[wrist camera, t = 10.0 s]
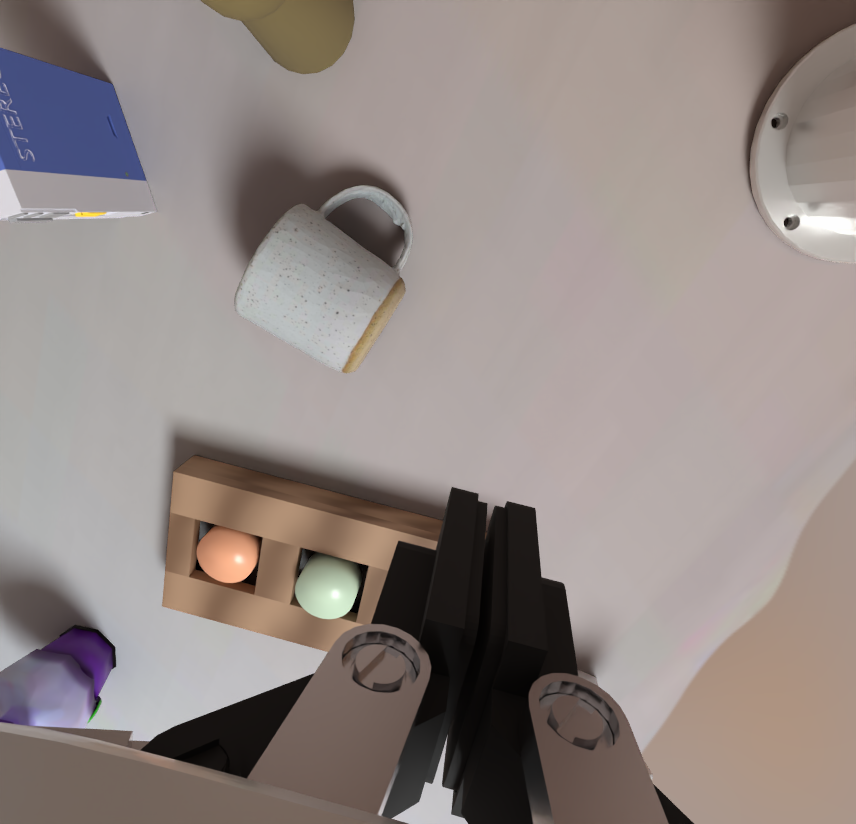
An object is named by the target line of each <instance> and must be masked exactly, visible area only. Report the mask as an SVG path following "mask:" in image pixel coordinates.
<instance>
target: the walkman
mask: <svg viewBox="0 0 856 824" xmlns="http://www.w3.org/2000/svg"><path fill="white" fill-rule="evenodd" d="M153 212H157V209H156V207H155V204H154V201H153V198H152V195H151V192H150V189H149V186H148V183H147V181H146V178H145V176H144V173H143V170H142V167H141V164H140V161H139V158H138V156H137V153H136V150H135V147H134V144H133V141H132V138H131V136H130V133H129V130H128V127H127V124H126V121H125V118H124V116H123V113H122V110H121V107H120V104H119V101H118V98H117V96H116V93H115V90H114V87H113V84H111V83H108V82H105V81H102V80H99V79H95V78H92V77H89V76H86V75H83V74H80V73H77V72H74V71H71V70H68V69H65V68H62V67H58V66H55V65H52V64H49V63H46V62H43V61H40V60H37V59H34V58H31V57H28V56H25V55H22V54H18V53H15V52H12V51H9V50H6V49H3V48H0V220H8V221H9V223H40V222H49V221H53V219H90V218H123V217H126V216H142V215H146V214H150V213H153Z"/></svg>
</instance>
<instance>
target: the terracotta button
mask: <svg viewBox="0 0 856 824" xmlns="http://www.w3.org/2000/svg"><path fill="white" fill-rule="evenodd" d="M262 540H263V537H260V536H256V535H253V534H249V533H245V532H241V531H238V530H234V529H230V528H227V527H223V526H219V525H214V526H213V527H212V528H211V529H210V530H209V532H208V533H207V534H206V535H205V536H204V537H203V538H202V539H201V541H200V542H199V544H198V547H197V558H198V561H199V564H200V566H201V567H202V569H203V570H204V571H205V572H206V573H207V574H208V575H209V576H211V577H212V578H214V579H216V580H218V581H221V582H225V583H236V582H240V581H242V580H244V579H245V578H247V577H248V576H249V574H250V573H251V572H252V570H253V569H254V567H255V566H256V564H257V563H258V562H259V560H260V553H261V547H262Z"/></svg>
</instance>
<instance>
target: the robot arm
mask: <svg viewBox="0 0 856 824" xmlns="http://www.w3.org/2000/svg"><path fill="white" fill-rule="evenodd" d="M772 119H776V121H777V125H776V127H775V128H772V125H771V120H772ZM749 172H750V179H751V187H752V193H753V196H754V199H755V202H756V205H757V207H758V210H759V213H760V214H761V216H762V217H763V219H764V220H765V222H766V224H767V225H768V227H769V228H770V230H771V231H773V232H774V233H775V234H776V235H777V236H778V237H779V238H780V239H781V240H782V241H783V242H784V243H785V244H787V245H788V246H790V247H792V248H793V249H795V250H797V251H798V252H800V253H802V254H805V255H808V256H811V257H814V258H816V259H819V260H826V261H831V262H836V263H856V23H855V24H853V25H851V26H849V27H847V28H845V29H843V30H841V31H839V32H837V33H836V34H834V35H832V36H831V37H829V38H827V39H826V40H824V41H822V42H821V43H819V44H818V45H816V46H815V47H814V48H813V49H812V50H811V51H809V52H808V53H807V54H806V55H805V56H803V57H802V58H801V59H800V60H799V61H798V62H797V63H796V64H795V65H794V66H793V67H792V68H791V69H790V71H789V72H788V73H787V74H786V75H785V76H784V77H783V79H782V80H781V81H780V82H779V84H778V86H777V87H776V89H775V90H774V92H773V93H772V95H771V97H770V98H769V100H768V101H767V103H766V105H765V107H764V110H763V112H762V114H761V117H760V119H759V121H758V124H757V126H756V130H755V134H754V138H753V142H752V146H751V154H750V171H749ZM785 218H788V220H789V223H788V225H787V226H785V227H784V225H783V224H784V220H785ZM486 517H487V503H483V502H479V501H478V494H477V493H473V492H469V491H465V490H461V489H457V488H453V487H452V489H451V492H450V496H449V500H448V504H447V508H446V512H445V515H444V519H443V523H442V527H441V531H440V535H439V539H438V543H437V547H436V550H434V549H430V548H426V547H422V546H418V545H415V544H411V543H407V542H403V541H398V543H397V546H396V549H395V552H394V555H393V558H392V561H391V564H390V567H389V570H388V573H387V576H386V579H385V582H384V585H383V588H382V591H381V594H380V597H379V600H378V603H377V606H376V609H375V612H374V615H373V618H372V622H371V624H366V625H361V626H356V627H354V628H352V629H350V630H348V631H346V632H344V633H343V634H342V635H341V636H340V637H339V638H338V639H337V640H336V641H335V643H334V644H333V646H332V647H331V649H330V650H329V652H328V653H327V655H326V657H325V658H324V660H323V661H322V663H321V664H320V666H319V667H318V669H317V670H316V672H315V673H314V674H311V675H309V676H306V677H303V678H301V679H298V680H296V681H293V682H290V683H288V684H285V685H282V686H280V687H277V688H274V689H272V690H269V691H267V692H264V693H261V694H259V695H256V696H253V697H251V698H248V699H245V700H243V701H240V702H238V703H235V704H232V705H230V706H227V707H224V708H222V709H219V710H216V711H214V712H211V713H209V714H206V715H203V716H201V717H198V718H195V719H193V720H190V721H187V722H185V723H182V724H180V725H177V726H174V727H172V728H171V729H169V730H167V731H165V732H163V733H161V734H159V735H157V736H156V737H155V738H154V739H152V740H151V741H150V742H149V741H132V734H133V731H120V730H101V729H83V728H64V727H46V726H27V725H18V724H11V723H3V722H0V824H408V823H404V822H401V821H397V820H394V819H392V818H393V817H395V816H396V815H398V814H400V813H401V812H403V811H405V810H406V809H408V808H410V807H411V806H413V805H415V804H416V803H418V802H419V800H420V797H421V794H422V790H423V787H424V784H425V782H428V783H431V784H432V783H433V780H434V777H435V774H436V771H437V767H438V764H439V761H440V758H441V754H442V751H443V748H444V744H445V741H446V738H447V745H446V754H445V763H444V771H443V781H442V786H443V787H445V788H449V789H453V790H454V791H453V802H452V812H451V814H452V815H455V816H459V817H463V818H465V820H466V821H467V822H468V824H694V823H693V822H691V821H690V819H689V818H687V816H686V815H684V814H683V813H682V812H681V811H680V810H679V809H678V808H677V807H676V806H675V805H674V804H673V803H672V802H671V801H670V800H669V799H668V798H667V797H666V796H665V795H664V794H663V793H662V792H661V791H660V790H659V789H658V788H657V787H656V786H655V785H654V784H653V783H652V780H651V778H650V775H649V772H648V770H647V767H646V765H645V762H644V760H643V757H642V755H641V752H640V750H639V747H638V745H637V742H636V739H635V737H634V734H633V732H632V729H631V727H630V724H629V722H628V720H627V718H626V716H625V714H624V712H623V711H622V709H621V707H620V706H619V705H618V704H617V703H616V702H615V700H614V699H613V698H612V697H611V696H610V695H609V694H608V693H606V692H605V691H604V690H602V689H601V688H600V687H598V686H597V685H596V684H594V683H592V682H590V681H588V680H586V679H584V678H582V677H578V670H577V664H576V657H575V650H574V643H573V637H572V630H571V623H570V617H569V610H568V603H567V596H566V590H565V586H564V584H563V583H561V582H557V581H553V580H549V579H546V578H542V577H541V568H540V557H539V545H538V534H537V523H536V511H535V508H532V507H528V506H524V505H520V504H516V503H512V502H508V501H507V503H506V505H505V508H503V507H499V506H495V507H494V510H493V513H492V517H491V520H490V524H489V527H488V531H487V534H486V538H485V531H486ZM447 735H448V737H447Z"/></svg>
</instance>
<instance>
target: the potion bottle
mask: <svg viewBox="0 0 856 824" xmlns="http://www.w3.org/2000/svg"><path fill="white" fill-rule="evenodd" d="M114 667H116V655H115V647H114V646H113V645H112V644H111V643H110V642H109V641H108V640H107V639H106V638H105V637H104V636H103V635H102V634H101V633H100V632H99V631H98V630H96V629H91V628H86V627H81V626H77V625H74V626H73V627H71V628H70V629H68V630H67V631H65V632H64V633H63V634H61V635H60V638H58V639H56V640H55V641H53V642H52V643H50V644H48V645H47V646H45V647H44V648H42V649H41V650H39V649H36V650H34V651H33V652H31V653H30V654H28V655H26V656H25V657H23V658H22V659H20V660H18V661H17V662H15V663H14V664H12V665H10V666H9V667H7V668H6V669H4V670H3V671H1V672H0V722H3V723H11V724H18V725H27V726H46V727H64V728H83V729H85V727H86V725H87V723H88V722H90V720H91V719H92V718H93V717H94V715H95V714H96V712H97V711H98V709H99V707H100V705H101V702H102V701H101V698H100V697H99V696H98V695H99V693H100V691H101V689H102V687H103V685H104V683H105V681H106V679H107V677H108V675H109V673H110V671H111V669H113V668H114Z"/></svg>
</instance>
